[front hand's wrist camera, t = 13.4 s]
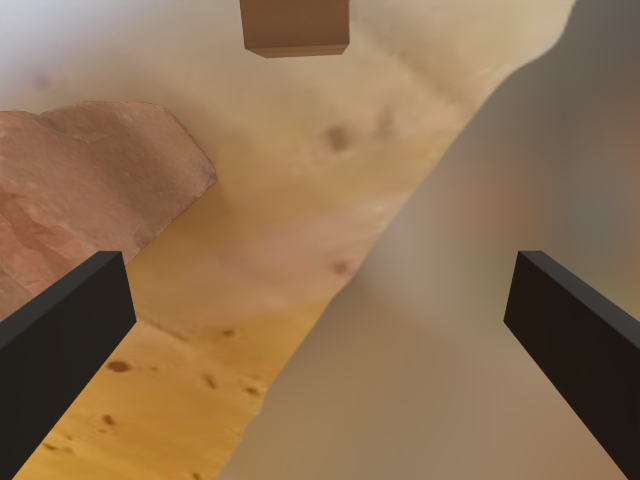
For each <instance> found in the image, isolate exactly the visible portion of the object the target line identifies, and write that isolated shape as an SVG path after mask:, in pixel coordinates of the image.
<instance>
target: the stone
mask: <svg viewBox="0 0 640 480" xmlns="http://www.w3.org/2000/svg"><path fill="white" fill-rule="evenodd" d="M216 180H217V176H216V172H215V169H214V168H213V166H212V164H211V163H210V161H209V160H208V158H207V157H206V156H205V155H204V154H203V153H202V151H201V150H200V149H199V147H198V146H197V145H196V143H195V142H194V141H193V139H192V138H191V137H190V136H189V135H188V133H187V132H186V131H185V130H184V129H183V128H182V127H181V125H180V124H179V123H178V122H177V120H176V119H175V118H174V117H173V116H172V114H171V113H170V112H168V111H167V110H166V109H164V108H163V107H161V106H159V105H155V104H150V103H138V102H134V101H131V102H128V103H106V102H97V101H87V102H79V103H77V104H76V105H73V106H68V107H63V108H59V109H55V110H51V111H47V112H44V113H42V114H40V115H35V114H32V113H28V112H25V111H2V112H0V322H1V321H3V320H4V319H5V318H7V317H8V316H10V315H11V314H12V313H14V312H15V311H16V310H18V309H19V308H21V307H22V306H23V305H25V304H26V303H27V302H29V301H30V300H32V299H33V298H34V297H36V296H37V295H38V294H40V293H41V292H43V291H44V290H45V289H47V288H48V287H49V286H51V285H52V284H54V283H55V282H56V281H58V280H59V279H60V278H62V277H63V276H65V275H66V274H67V273H69V272H70V271H71V270H73V269H74V268H76V267H77V266H78V265H80V264H81V263H82V262H84V261H85V260H87V259H88V258H89V257H91V256H92V255H93V254H95V253H96V252H98V251H122V255H123V260H124V264H125V265H127V264H128V263H129V262H130V261H131V260H132V259H133V258H134V257H135V256H136V255H137V254H138V253H139V252H140V251H141V250H142V249H143V248H144V247H145V246H146V245H147V244H149V243H150V242H151V241H152V240H153V239H155V238H156V237H157V236H158V235H159V234H160V233H161V232H162V231H163V230H164V229H165V228H166V227H167V226H168V225H169V224H170V223H172V221H174V220H175V219H176V218H177V217H178V216H179V215H180V214H182V213H183V212H184V211H185V210H186V209H187V208H188V207H189V206H190V205H191V204H192V203H193V202H194V201H195V200H197V199H198V198H199V197H200V196H201V195H202V194H203V193H204V192H205V191H206V190H207V189H208V188H210V187H211V186H212V185H213V184H214V183H215V182H216Z"/></svg>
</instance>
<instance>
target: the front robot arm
mask: <svg viewBox="0 0 640 480" xmlns="http://www.w3.org/2000/svg"><path fill="white" fill-rule="evenodd" d="M136 322H137V321H136V316H135V311H134V307H133V302H132V297H131V293H130V288H129V283H128V278H127V274H126V269H125V264H124V260H123V255H122V251H98V252H96V253H95V254H93V255H92V256H91V257H89V258H88V259H87V260H85V261H84V262H82V263H81V264H80V265H78V266H77V267H76V268H74V269H73V270H71V271H70V272H69V273H67V274H66V275H65V276H63V277H62V278H60V279H59V280H58V281H56V282H55V283H54V284H52V285H51V286H49V287H48V288H47V289H45V290H44V291H43V292H41V293H40V294H38V295H37V296H36V297H34V298H33V299H32V300H30V301H29V302H27V303H26V304H25V305H23V306H22V307H21V308H19V309H18V310H16V311H15V312H14V313H12V314H11V315H10V316H8V317H7V318H5V319H4V320H3V321H1V322H0V480H12V479H13V477H14V476H15V475H16V474H17V472H18V471H19V470H20V468H21V467H22V466H23V465H24V463H25V462H26V461H27V460H28V458H29V457H30V456H31V455H32V453H33V452H34V451H35V449H36V448H37V447H38V446H39V444H40V443H41V442H42V441H43V439H44V438H45V437H46V436H47V434H48V433H49V432H50V431H51V429H52V428H53V427H54V425H55V424H56V423H57V422H58V420H59V419H60V418H61V417H62V415H63V414H64V413H65V412H66V410H67V409H68V408H69V406H70V405H71V404H72V403H73V401H74V400H75V399H76V398H77V396H78V395H79V394H80V393H81V391H82V390H83V389H84V388H85V386H86V385H87V384H88V382H89V381H90V380H91V379H92V377H93V376H94V375H95V374H96V372H97V371H98V370H99V369H100V367H101V366H102V365H103V363H104V362H105V361H106V360H107V358H108V357H109V356H110V355H111V353H112V352H113V351H114V350H115V348H116V347H117V346H118V345H119V343H120V342H121V341H122V339H123V338H124V337H125V336H126V334H127V333H128V332H129V331H130V329H131V328H132V327H133V326H134V324H135V323H136ZM504 323H505V324H506V326H507V327H508V328H509V329H510V331H511V332H512V333H513V334H514V336H515V337H516V338H517V339H518V341H519V342H520V343H521V345H522V346H523V347H524V348H525V350H526V351H527V352H528V353H529V355H530V356H531V357H532V358H533V360H534V361H535V362H536V363H537V365H538V366H539V367H540V369H541V370H542V371H543V372H544V374H545V375H546V376H547V377H548V379H549V380H550V381H551V382H552V384H553V385H554V386H555V388H556V389H557V390H558V391H559V393H560V394H561V395H562V396H563V398H564V399H565V400H566V401H567V403H568V404H569V405H570V406H571V408H572V409H573V410H574V412H575V413H576V414H577V415H578V417H579V418H580V419H581V420H582V422H583V423H584V424H585V425H586V427H587V428H588V429H589V431H590V432H591V433H592V434H593V436H594V437H595V438H596V439H597V441H598V442H599V443H600V444H601V446H602V447H603V448H604V449H605V451H606V452H607V453H608V455H609V456H610V457H611V458H612V460H613V461H614V462H615V463H616V465H617V466H618V467H619V468H620V470H621V471H622V472H623V474H624V475H625V476H626V477H627V479H628V480H640V322H639V321H637V320H636V319H635V318H633V317H632V316H630V315H629V314H628V313H626V312H625V311H623V310H622V309H621V308H619V307H618V306H617V305H615V304H614V303H613V302H611V301H610V300H608V299H607V298H606V297H604V296H603V295H602V294H600V293H599V292H597V291H596V290H595V289H593V288H592V287H590V286H589V285H588V284H586V283H585V282H584V281H582V280H581V279H580V278H578V277H577V276H575V275H574V274H573V273H571V272H570V271H568V270H567V269H566V268H564V267H563V266H562V265H560V264H559V263H558V262H556V261H555V260H553V259H552V258H551V257H549V256H548V255H547V254H545V253H544V252H542V251H518V255H517V260H516V265H515V269H514V274H513V278H512V283H511V288H510V293H509V297H508V302H507V307H506V311H505V316H504Z"/></svg>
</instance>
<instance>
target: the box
mask: <svg viewBox="0 0 640 480" xmlns="http://www.w3.org/2000/svg"><path fill="white" fill-rule="evenodd" d="M240 8H241V17H242V27H243V36H244V46H245V49H247V50H249V51H251V52H253V53H255V54H258V55H260V56H262V57H264V58H280V57H301V56H322V55H342V54H343V52H344V51H345V49H346V48H347V46H348V45H349V43H350V41H349V0H240Z"/></svg>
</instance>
